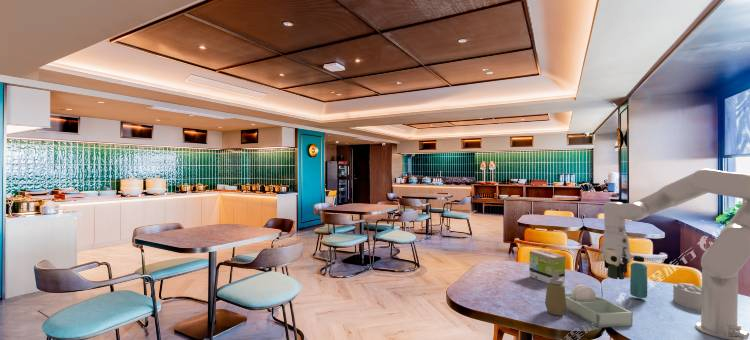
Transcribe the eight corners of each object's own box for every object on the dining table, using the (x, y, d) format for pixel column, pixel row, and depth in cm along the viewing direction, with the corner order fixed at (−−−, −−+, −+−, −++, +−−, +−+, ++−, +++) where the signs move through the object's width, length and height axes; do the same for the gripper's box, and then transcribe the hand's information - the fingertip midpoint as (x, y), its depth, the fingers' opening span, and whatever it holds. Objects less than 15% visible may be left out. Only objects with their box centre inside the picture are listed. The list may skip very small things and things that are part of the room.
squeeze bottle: (547, 307, 149) (547, 266, 149) (568, 312, 144) (568, 270, 144) (542, 313, 143) (543, 270, 142) (564, 319, 137) (565, 274, 137)
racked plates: (595, 307, 147) (595, 286, 147) (576, 308, 145) (577, 287, 145) (589, 304, 150) (590, 284, 150) (571, 305, 149) (571, 285, 149)
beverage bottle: (650, 302, 156) (651, 258, 156) (634, 300, 158) (634, 257, 158) (642, 296, 163) (643, 255, 163) (626, 295, 164) (627, 254, 164)
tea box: (528, 277, 191) (528, 250, 191) (541, 275, 195) (541, 249, 195) (552, 285, 177) (553, 257, 177) (565, 283, 181) (565, 255, 181)
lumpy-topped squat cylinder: (697, 301, 159) (697, 282, 159) (715, 312, 146) (715, 292, 146) (669, 298, 162) (670, 280, 162) (685, 308, 149) (685, 289, 149)
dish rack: (632, 325, 133) (632, 312, 133) (597, 327, 130) (598, 314, 130) (589, 303, 154) (589, 292, 154) (558, 304, 152) (559, 293, 152)
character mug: (604, 280, 149) (604, 250, 149) (598, 275, 156) (598, 246, 156) (633, 282, 146) (633, 251, 146) (626, 277, 153) (625, 248, 153)
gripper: (640, 232, 143) (641, 275, 143) (606, 226, 160) (607, 264, 160) (624, 233, 142) (625, 276, 142) (591, 227, 159) (592, 265, 159)
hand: (615, 269), depth 151 cm, fingers closed on character mug, 7 cm apart
